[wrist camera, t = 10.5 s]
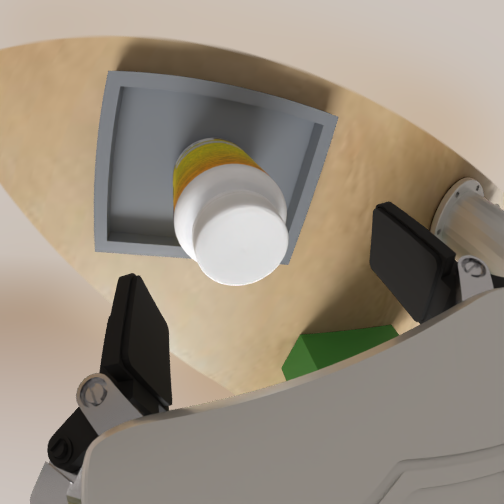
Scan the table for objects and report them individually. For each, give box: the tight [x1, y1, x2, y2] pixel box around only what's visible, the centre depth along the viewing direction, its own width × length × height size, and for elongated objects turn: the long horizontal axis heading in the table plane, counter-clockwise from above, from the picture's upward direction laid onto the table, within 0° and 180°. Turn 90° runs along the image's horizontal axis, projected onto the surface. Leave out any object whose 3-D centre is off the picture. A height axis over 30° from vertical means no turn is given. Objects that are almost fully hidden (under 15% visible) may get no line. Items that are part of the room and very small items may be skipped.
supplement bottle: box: [173, 138, 289, 286], centre depth 15 cm, size 6×6×10 cm
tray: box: [94, 71, 338, 265], centre depth 19 cm, size 16×13×2 cm
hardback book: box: [282, 325, 399, 381], centre depth 29 cm, size 18×7×24 cm, turn 74°
